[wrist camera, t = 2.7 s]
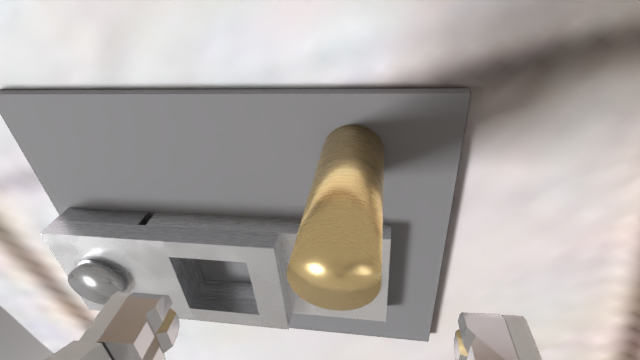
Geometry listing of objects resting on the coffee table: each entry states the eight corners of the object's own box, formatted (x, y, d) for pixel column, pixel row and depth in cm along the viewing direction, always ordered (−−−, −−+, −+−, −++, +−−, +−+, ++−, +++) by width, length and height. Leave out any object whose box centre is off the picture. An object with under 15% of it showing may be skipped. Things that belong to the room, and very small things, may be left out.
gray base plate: (468, 88, 16) (470, 93, 16) (427, 333, 27) (428, 341, 26) (-2, 90, 20) (-12, 94, 20) (120, 304, 30) (115, 310, 30)
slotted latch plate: (390, 224, 21) (390, 268, 18) (386, 305, 25) (385, 351, 22) (68, 207, 24) (29, 243, 21) (110, 281, 28) (81, 319, 25)
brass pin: (385, 124, 17) (382, 249, 11) (383, 178, 19) (379, 314, 13) (321, 124, 18) (281, 243, 11) (324, 176, 19) (291, 306, 13)
